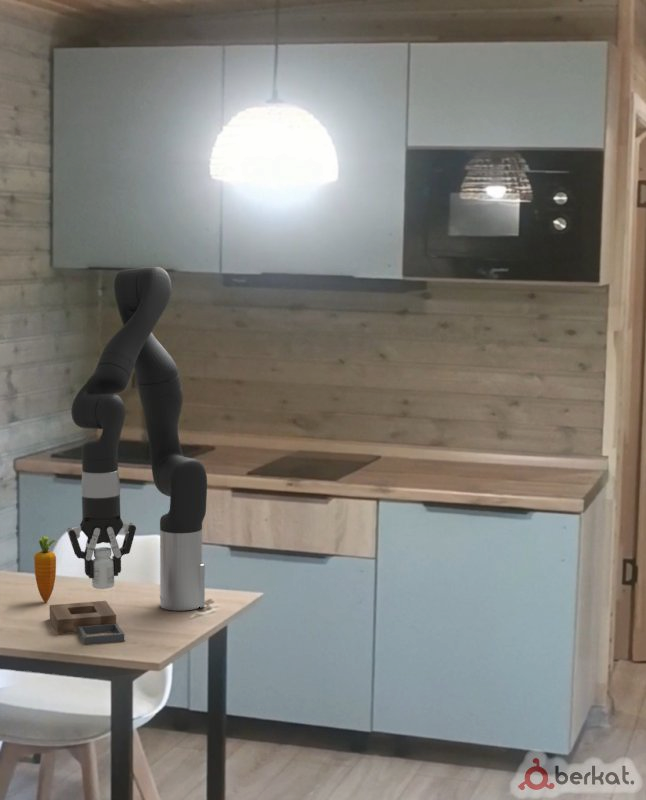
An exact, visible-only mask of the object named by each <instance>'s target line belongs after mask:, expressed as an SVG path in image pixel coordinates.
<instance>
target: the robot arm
mask: <svg viewBox="0 0 646 800" xmlns="http://www.w3.org/2000/svg"><path fill="white" fill-rule="evenodd" d="M113 284H114V285H113V288H114V289H113V292H114V298H115V302H116V306H117V309H118V312H119V316H120V319H121V322H122V325H123V326H122V327H121V328H120V329H119V330H118V331H117V332H116V333H115V334H114V335H113V336H112V337H111V338H110V339H109V341H108V342H107V343H106V344H105V346H104V348H103V349H102V353H101V354H100V357H99V360H98V362H97V365H96V368H95V370H94V372H93V373H92V375H91V376H90V377H89V379H88V380H87V381H85V383H84V385H83V386H82V387H81V388H80V390H79V391H78V393H77V394H76V396H75V398H74V399H73V402H72V405H71V411H70V413H71V418H72V420H73V423H74V424H75V425H76V426H77V427H79V428H82V429H93V430H95V429H96V430H102V432H101V435H100V437H99V438H98V439H94V440H89V441H86V442H84V443H83V445H82V446H81V447H82V448H81V465H82V466H81V467H82V468H81V469H82V471H81V472H82V473H81V510H82V511H81V512H82V513H81V515H82V516H81V517H82V518H81V522H80V525H78V526H76V527H73V528H72V527H68V528H67V530H66V531H67V535H68V539H69V541H70V545H71V547H72V550H73V553H74V555H75V556H76V558H77V559H83V560H84V574H85V575H86V576H87V577H88V579H92V578H93V560H94V559H92V558H93V556H94V550H95V548H97V547H96V546H97V545H98V544H102V543H103V544H109V546H110V548H111V552H112V554H113V555H111V557H112V558H111V559H113V561H114V577H118V576H119V574H121V571H122V557H123V556H124V555H129V554H130V552H131V548H132V545H133V542H134V537H135V535H136V534H135V533H136V530H137V527H136V525H135V524H134V523H132V522H129V523H127V522H124V521H123V520H122V518H121V485H120V484H121V483H120V475H119V461H118V452H119V451H118V449H119V445H120V444H119V443H120V439H121V434H122V430H123V427H124V422H125V419H126V413H127V412H126V410H127V409H126V405H125V402H124V401H123V399H122V398H121V397H120V395H117V394H119V393H121V392H123V391H124V390H126V388H127V386H128V383H129V381H130V378H131V375H132V373H133V371H134V374H135V379H136V380H135V381H136V386H137V391H138V395H139V400H140V403H141V407H142V412H143V418H144V422H145V427H146V431H147V437H148V438H147V439H148V444H149V451H150V452H149V453H150V454H149V456H150V464H151V472H152V478H153V479H152V480H153V483H154V485H155V487H156V489H157V490H158V491H159V492H160V494H162V495H165V496H166V497H170V498H169V510H168V513H164V514H163V515H162V516H161V517H160V519H159V541H160V542H159V555H160V556H159V567H160V568H159V570H160V571H159V573H160V574H159V575H160V576H159V578H160V581H159V584H160V585H159V587H160V588H159V591H160V593H159V603H160V604H159V605H160V607H161V608H162V609H164V610H169V611H179V612H180V611H191V610H196V609H199V607H200V608H205V607H204V606H206V603H205V602H206V599H205V598H206V595H205V594H206V593H205V591H206V584H205V580H206V578H205V575H206V574H205V573H206V572H205V571H206V569H205V566H206V565H205V564H204V563H203V523H204V522H203V521H204V519H205V517H206V512H207V493H208V477H207V471H206V469H205V467H204V465H203V464H202V462H200V461H199V460H197V459H194V458H191V457H187V456H184V453H183V450H182V446H181V442H180V438H179V422H180V421H179V420H180V416H181V413H182V407H183V399H184V396H183V395H184V394H183V387H182V382H181V377H180V373H179V369H178V366H177V363H176V362H175V361H174V359H173V357H172V356H171V354H170V353H169V352H168V351H167V349H165V348H164V346H163V345H162V344H161V343H160V342H159V341H158V339H157V338H156V336H155V335H154V334H153V330H154V329H155V326H157V324H158V322H159V320H160V319H161V317H162V316H163V314H164V311H165V310H166V308H167V306H168V304H169V301H170V299H171V296H172V288H173V286H172V281H171V278H170V275H169V273H168V272H167V271H166V270H165V269H164V268H162V267H160V266H145V267H137V268H128V269H122V270H120V271H119V272H118V273H117V274H116V275H115V277H114V283H113ZM122 529H123V533H124V534H125V535H124V539H123V543H122V546H121V547H120V546H119V543H118V540H117V538H116V537H118V534H119V533H120V531H122ZM81 532H82V533H83V534H84V535H85V536H86V538H87V539H86V542H85V548H84V551H83V550H82V549H81V545H80V543H79V540H78V539H80V537H81Z"/></svg>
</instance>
